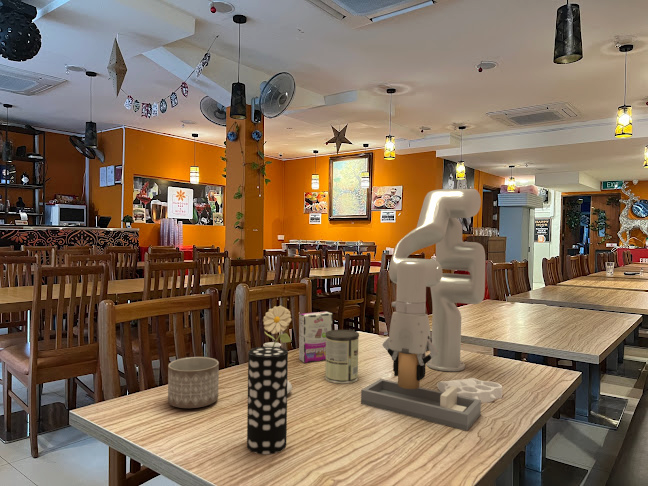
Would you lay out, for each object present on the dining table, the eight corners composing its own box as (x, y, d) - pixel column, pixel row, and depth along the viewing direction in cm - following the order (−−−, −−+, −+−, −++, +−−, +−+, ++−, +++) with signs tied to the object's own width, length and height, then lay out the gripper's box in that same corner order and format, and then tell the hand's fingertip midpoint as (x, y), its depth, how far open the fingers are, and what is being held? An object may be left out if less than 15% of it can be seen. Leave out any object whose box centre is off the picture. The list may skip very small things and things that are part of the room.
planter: (167, 396, 125) (167, 358, 125) (215, 392, 130) (215, 355, 129) (168, 415, 114) (169, 372, 113) (221, 409, 118) (221, 368, 118)
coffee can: (326, 372, 149) (327, 328, 149) (358, 374, 148) (359, 330, 148) (323, 383, 139) (323, 336, 138) (357, 384, 138) (358, 337, 137)
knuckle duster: (478, 385, 141) (513, 402, 127) (427, 391, 134) (459, 410, 121) (478, 374, 141) (514, 390, 127) (427, 380, 134) (459, 397, 121)
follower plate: (451, 404, 120) (451, 385, 120) (468, 408, 117) (469, 389, 117) (439, 415, 113) (440, 395, 113) (458, 420, 110) (458, 399, 110)
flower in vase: (242, 393, 129) (243, 303, 128) (273, 383, 137) (274, 299, 137) (273, 406, 120) (274, 310, 119) (304, 395, 128) (306, 305, 128)
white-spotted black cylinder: (248, 436, 103) (249, 346, 102) (286, 435, 103) (287, 346, 103) (245, 454, 94) (246, 357, 94) (286, 454, 95) (288, 357, 94)
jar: (402, 380, 125) (403, 342, 125) (423, 384, 122) (424, 346, 122) (393, 386, 120) (394, 347, 120) (414, 390, 117) (415, 350, 117)
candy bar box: (326, 356, 168) (326, 311, 168) (332, 359, 164) (333, 313, 163) (297, 359, 163) (298, 313, 163) (303, 363, 159) (304, 315, 158)
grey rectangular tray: (380, 391, 133) (380, 378, 132) (480, 414, 117) (480, 400, 117) (360, 403, 123) (361, 389, 123) (467, 430, 108) (467, 414, 108)
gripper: (374, 306, 122) (372, 374, 123) (437, 313, 113) (435, 387, 113) (387, 303, 129) (385, 367, 129) (447, 309, 119) (445, 379, 120)
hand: (408, 376), depth 121 cm, fingers closed on jar, 5 cm apart
